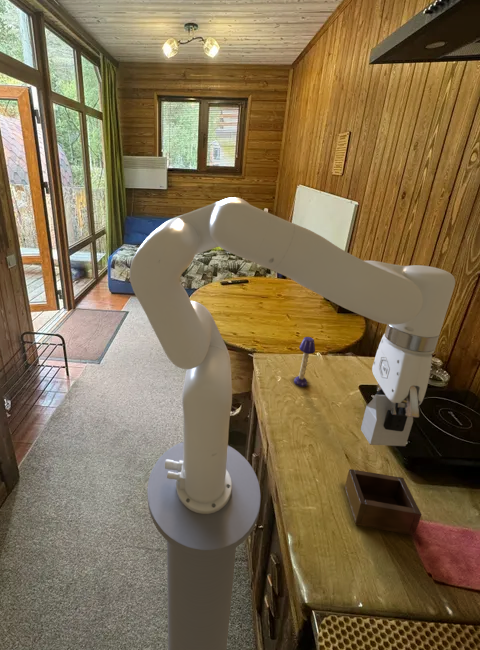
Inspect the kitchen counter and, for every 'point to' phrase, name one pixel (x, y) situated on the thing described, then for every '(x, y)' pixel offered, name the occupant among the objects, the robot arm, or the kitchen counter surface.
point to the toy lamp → (305, 360)
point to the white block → (375, 424)
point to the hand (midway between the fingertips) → (387, 418)
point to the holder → (382, 502)
